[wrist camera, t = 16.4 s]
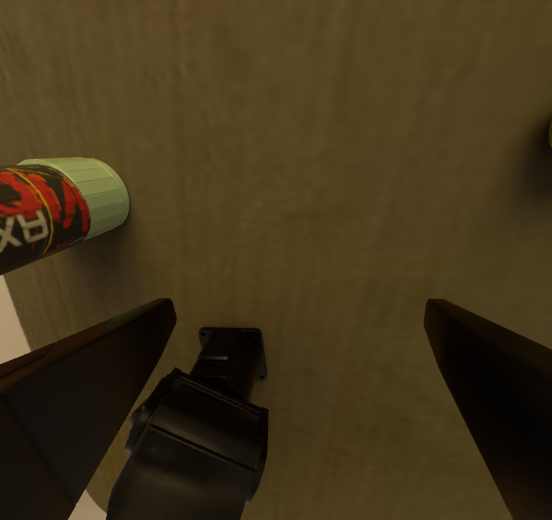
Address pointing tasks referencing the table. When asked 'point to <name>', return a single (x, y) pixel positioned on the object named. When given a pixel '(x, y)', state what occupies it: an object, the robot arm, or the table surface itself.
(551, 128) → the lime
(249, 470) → the robot arm
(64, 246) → the deodorant
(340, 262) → the table surface
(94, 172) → the stoneware cup
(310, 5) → the table surface
